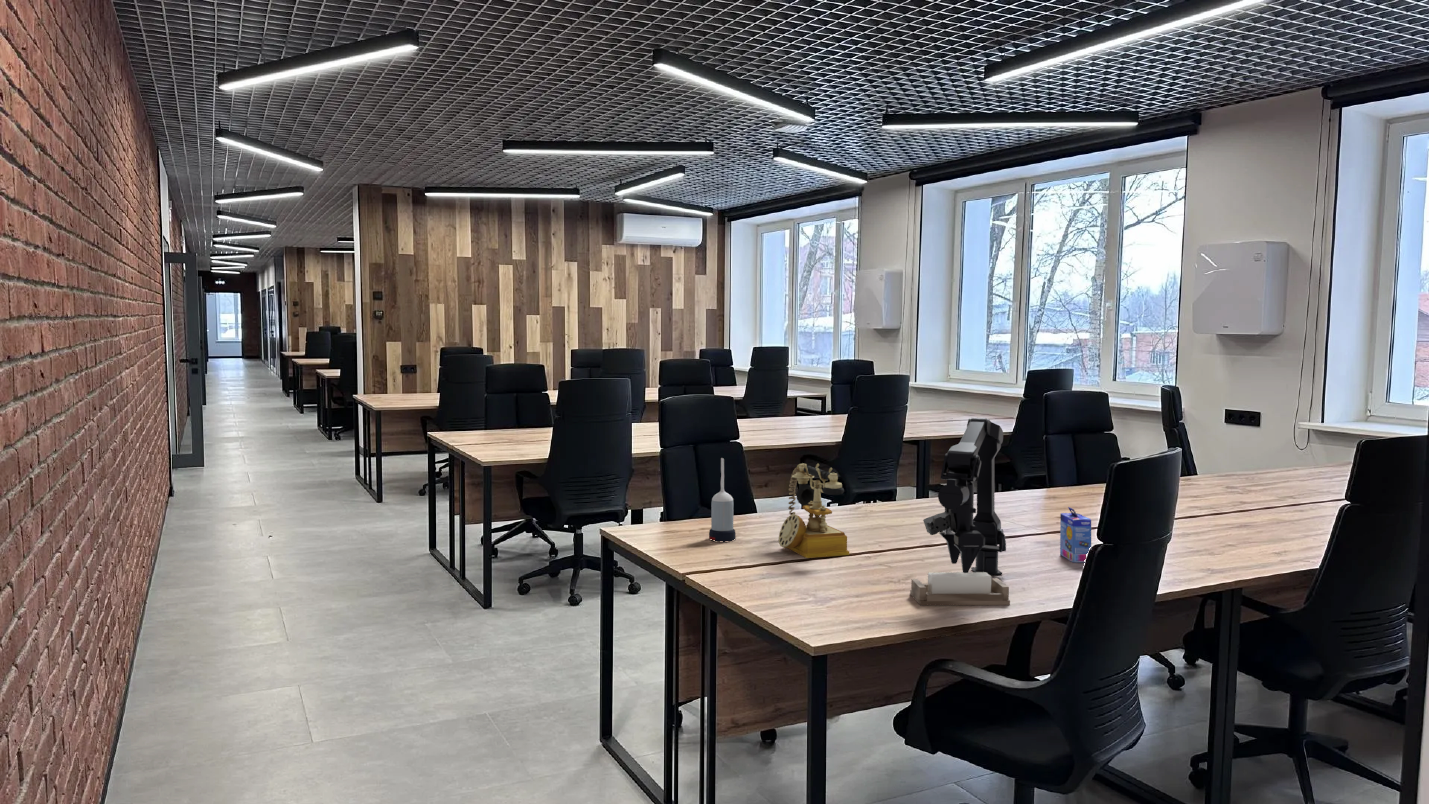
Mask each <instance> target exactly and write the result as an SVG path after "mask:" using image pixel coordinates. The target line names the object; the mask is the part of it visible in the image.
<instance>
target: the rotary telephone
mask: <svg viewBox="0 0 1429 804" xmlns="http://www.w3.org/2000/svg"><path fill="white" fill-rule="evenodd" d="M819 466H820V464H819V463H817V464H815V467H813V466H811V465H808V464H807V463H803V462H802V463H799V464H797V465H796V467H795V468H794V470H793V471H792V473H791V476H790V480H789V485H788V486H789V488H788V491H790V492H789V493H788V495H790V496H789V497H788V500H791V501H789V502H788V503H787V504H788V505H789V506H788V507H787V508H788V510H789V513H788V514H789V516H787V517H786V519H784V521H783V523H782V525H781V528H780V530H779V534H778V544H779V546H780V547H782V548H785V549H787V550H790V551H793V552H794V553H795V554H798V555H800V556H802V557H803V558H806V559H810V558H811V559H813V558H814V559H816V558H826V557H827V558H829V557H840V556H850V550H848V536H847V535H846V533H845V532H844V531H841V530H839V529H836V528H835V527H832V526H830V525H828V523H827V521H826V518H827V516H828V515H831V514H832V513H833V511H832V510H831V509H829V508H827V507H825V505H823V501H822V496H821V494H822V493H823V494H824V495H829V496H838V495H843V494H844V493H845V489H844V487H843V484H842V483H843V482H839V481H838V479H839V476H838V473H835V472H832V470H833V468H832V467H830V468H829V469H828V471H826V470H823V469H821V468H819ZM815 477H816V478H819V479H816V480H813V478H815ZM821 481H822V482H821ZM826 481H827V482H826ZM808 482H809V484H808ZM797 483H798V489H797V488H796V486H797ZM796 489H797V492H796ZM791 495H792V496H791ZM796 500H797V502H798V504H800V505H801V506H802V509H803V510H804V511H805V512H807V513H808V519H807V521H808V522H807V524H805V521H804V520H803V518H802V517H800V516H799V515H798V514H796V511H794V510H795V508H796V507H794V506H795V505H796V504H797V503H796V502H795V501H796ZM826 515H827V516H826Z"/></svg>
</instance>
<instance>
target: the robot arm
mask: <svg viewBox="0 0 1429 804" xmlns="http://www.w3.org/2000/svg"><path fill="white" fill-rule="evenodd" d="M1003 441H1004V431H1003V429H1002V427H1001V426H1000V425H999V424H997V423H994V422H992V421H991V420H990V419H989V418H986V417H985V418H984V417H971V418H968V420H967V424H966V428H965V431H964V432H963V435H962V437H961V439H960V441H959V442H958V444H957V443H956V444H955V445H952V446H950V448H949V450H947V453H945V454H944V458H943V462H942V469H941V473H940V480H946V484H945V485H943V486H942V487H941V488H940V489H939V491H938V493H937V498H938V502H939V504H940V505H941V506H942V507H943V508H944V512H941V513H937V514H936V513H935V514H933V515H932V516H929V517H926V518H923V520H922V521H923V524H924V526H925V527H924V528H925V530H926V532H927V534H929V535H930V536H934V535H938V534H939V535H940V536H941V537H942V538H943V539H944V540H945V542H946V546H947V549H948V553H949V557H950V561H951V564H952V565H956V564H957V563H958V561H959V558H960V562H961V568H962V572H963V573H968V572H969V571H970V570H972V571H973V572H986V573H988V574H989V575H990V576H992V575H994V576H995V575H997V576H998V575H1003V572H1002V571H1001V570H1000V569H999V553H1002V552H1007V541H1006V534H1004V530H1003V528H1002V521H1001V519H1000V518H999V516H998V515H997V513H996V512H995V511H996V509H995V506H996V505H995V457H996V456H997V454H998V453H999V451H1000V449H1001V448H1002V444H1003ZM975 482H976V507H975V506H974V501H975V500H974V498H975V497H974V496H975V495H974V494H975V484H974V483H975ZM974 514H975V516H974ZM974 561H975V566H973V563H974Z"/></svg>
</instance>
